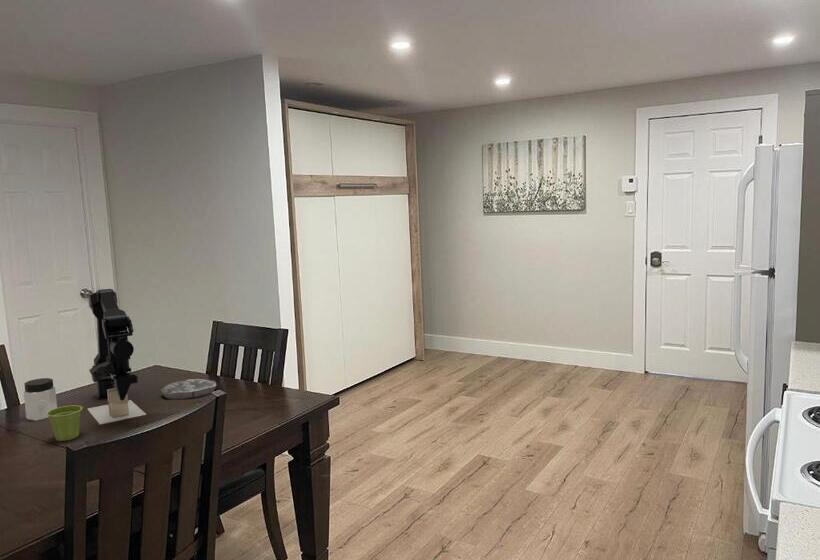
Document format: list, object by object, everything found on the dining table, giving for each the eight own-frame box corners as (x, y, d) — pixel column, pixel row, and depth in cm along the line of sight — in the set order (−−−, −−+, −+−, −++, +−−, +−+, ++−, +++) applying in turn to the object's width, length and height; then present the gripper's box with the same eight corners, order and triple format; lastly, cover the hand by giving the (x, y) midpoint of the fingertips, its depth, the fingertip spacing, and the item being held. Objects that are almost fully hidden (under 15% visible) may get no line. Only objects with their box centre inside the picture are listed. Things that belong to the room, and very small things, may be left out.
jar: (26, 422, 197) (23, 386, 196) (26, 415, 204) (22, 381, 203) (58, 417, 202) (55, 381, 201) (56, 410, 209) (53, 376, 207)
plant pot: (60, 446, 177) (57, 417, 176) (42, 440, 182) (40, 412, 181) (91, 435, 185) (88, 408, 183) (74, 430, 190) (71, 403, 188)
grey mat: (87, 409, 209) (87, 408, 209) (130, 401, 217) (130, 400, 217) (100, 425, 193) (99, 424, 193) (146, 415, 202) (146, 414, 202)
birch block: (109, 414, 202) (107, 389, 201) (125, 410, 206) (123, 386, 204) (112, 418, 199) (110, 393, 198) (129, 414, 202) (127, 389, 201)
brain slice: (209, 383, 238) (209, 376, 238) (220, 394, 224) (220, 386, 223) (156, 392, 228) (155, 384, 228) (164, 404, 214) (163, 396, 213)
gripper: (84, 351, 197) (88, 398, 199) (97, 363, 182) (101, 413, 184) (121, 346, 204) (125, 391, 206) (136, 356, 189) (140, 405, 191)
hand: (122, 400), depth 196 cm, fingers closed
